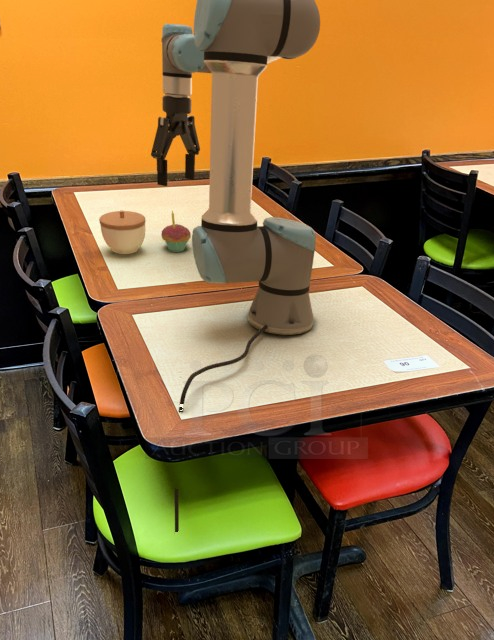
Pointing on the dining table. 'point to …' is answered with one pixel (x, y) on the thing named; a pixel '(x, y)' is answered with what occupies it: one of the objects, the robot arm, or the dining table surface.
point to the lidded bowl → (123, 231)
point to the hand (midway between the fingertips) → (176, 182)
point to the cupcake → (175, 236)
